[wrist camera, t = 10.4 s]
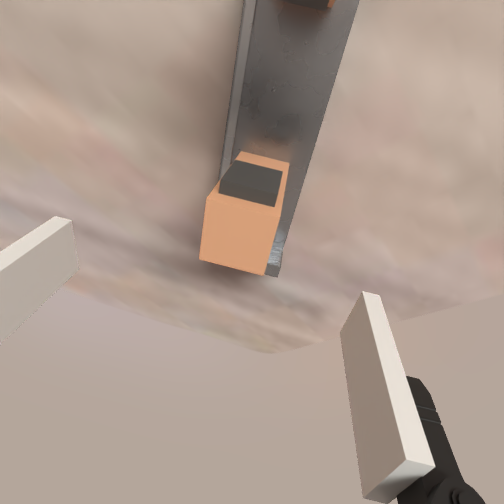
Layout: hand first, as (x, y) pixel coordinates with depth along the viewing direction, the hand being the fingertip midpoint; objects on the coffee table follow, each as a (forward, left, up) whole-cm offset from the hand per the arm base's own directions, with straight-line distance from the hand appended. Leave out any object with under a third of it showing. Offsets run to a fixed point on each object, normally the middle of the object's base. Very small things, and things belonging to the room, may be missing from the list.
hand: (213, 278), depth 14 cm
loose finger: (0, -1, -14) cm, 14 cm away
